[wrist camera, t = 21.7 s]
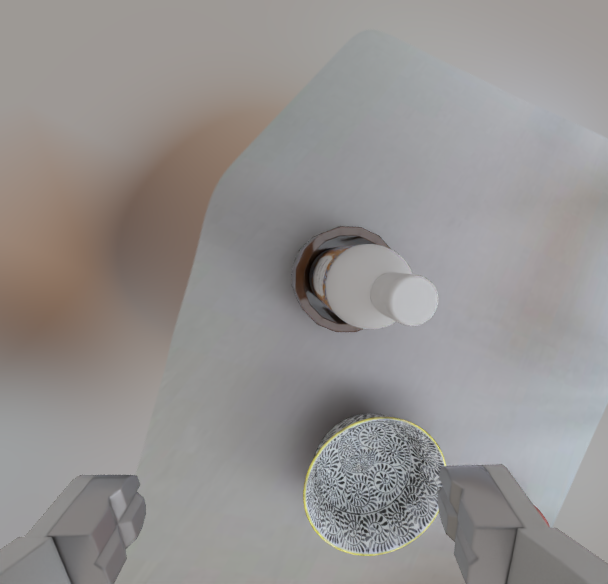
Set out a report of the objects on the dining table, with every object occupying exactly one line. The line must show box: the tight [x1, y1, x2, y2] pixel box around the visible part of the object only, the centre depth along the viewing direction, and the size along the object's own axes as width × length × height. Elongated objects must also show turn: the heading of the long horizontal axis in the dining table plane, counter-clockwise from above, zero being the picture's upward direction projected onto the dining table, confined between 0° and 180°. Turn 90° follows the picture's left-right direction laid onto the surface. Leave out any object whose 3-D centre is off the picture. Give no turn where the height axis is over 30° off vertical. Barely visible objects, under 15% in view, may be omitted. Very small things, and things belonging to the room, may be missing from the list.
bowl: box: [303, 414, 446, 556], centre depth 37 cm, size 16×16×8 cm
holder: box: [291, 226, 390, 332], centre depth 35 cm, size 11×11×6 cm
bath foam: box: [309, 244, 438, 329], centre depth 27 cm, size 7×7×20 cm
